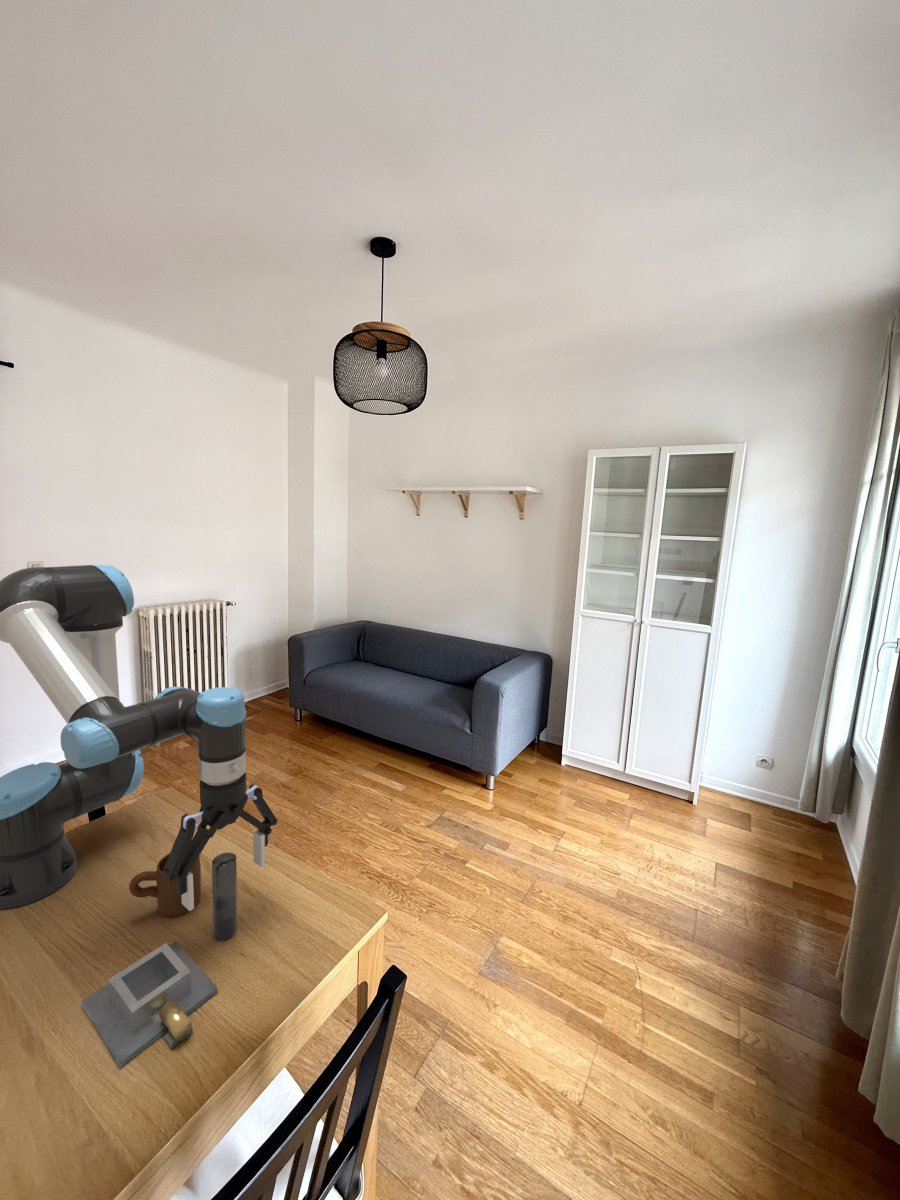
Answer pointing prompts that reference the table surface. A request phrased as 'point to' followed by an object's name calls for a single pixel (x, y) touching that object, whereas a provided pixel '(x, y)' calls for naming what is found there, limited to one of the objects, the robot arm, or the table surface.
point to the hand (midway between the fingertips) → (225, 883)
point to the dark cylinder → (224, 896)
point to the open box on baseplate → (149, 1002)
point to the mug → (166, 889)
